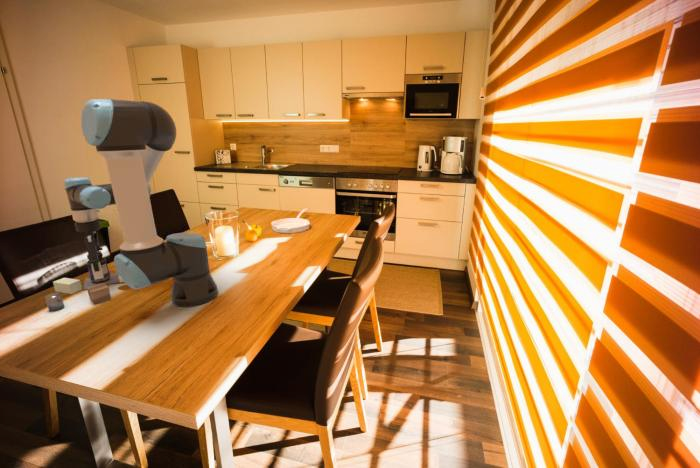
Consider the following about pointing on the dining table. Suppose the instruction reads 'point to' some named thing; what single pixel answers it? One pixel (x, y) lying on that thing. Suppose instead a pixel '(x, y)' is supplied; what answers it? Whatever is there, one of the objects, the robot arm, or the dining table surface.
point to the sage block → (67, 285)
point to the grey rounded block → (54, 302)
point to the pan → (291, 224)
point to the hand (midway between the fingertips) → (99, 272)
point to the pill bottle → (104, 270)
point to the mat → (113, 280)
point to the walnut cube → (99, 293)
